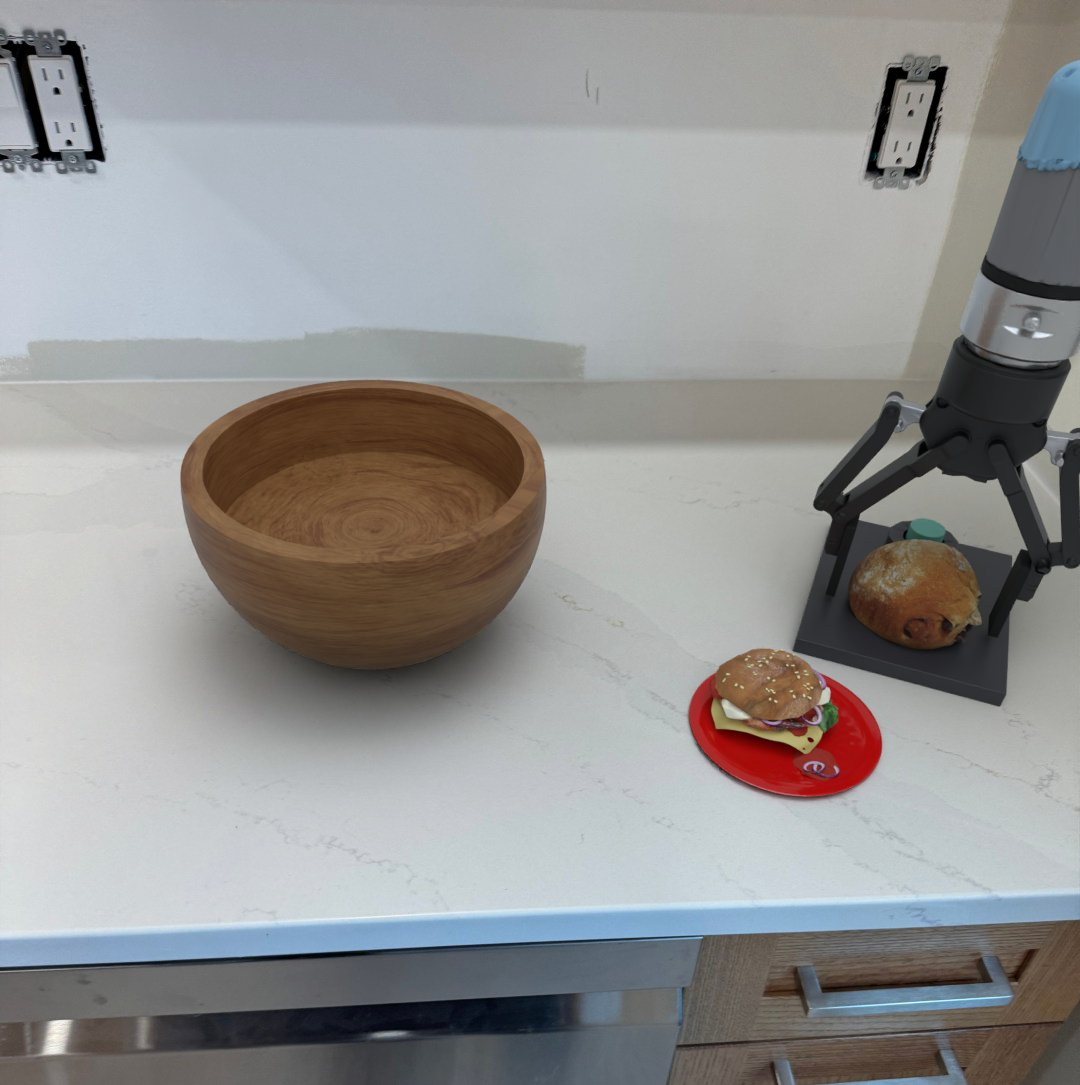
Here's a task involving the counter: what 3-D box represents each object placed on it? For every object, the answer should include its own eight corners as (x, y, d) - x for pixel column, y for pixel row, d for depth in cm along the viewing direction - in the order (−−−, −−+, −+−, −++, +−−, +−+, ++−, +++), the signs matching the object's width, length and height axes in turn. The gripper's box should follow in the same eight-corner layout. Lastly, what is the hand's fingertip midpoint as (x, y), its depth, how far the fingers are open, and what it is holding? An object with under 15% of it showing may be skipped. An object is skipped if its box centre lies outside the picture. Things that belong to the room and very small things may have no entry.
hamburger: (667, 765, 67) (680, 703, 63) (711, 647, 76) (725, 586, 72) (869, 824, 64) (896, 763, 60) (889, 693, 73) (914, 633, 69)
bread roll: (924, 615, 84) (928, 524, 82) (1011, 642, 75) (1019, 540, 72) (826, 634, 82) (827, 541, 79) (904, 664, 73) (908, 559, 70)
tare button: (941, 537, 85) (947, 522, 84) (938, 555, 83) (944, 540, 82) (906, 529, 85) (912, 514, 84) (903, 547, 83) (909, 532, 82)
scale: (1006, 568, 86) (1019, 540, 84) (999, 707, 73) (1015, 678, 71) (829, 526, 90) (838, 498, 88) (792, 651, 77) (800, 622, 74)
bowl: (476, 779, 65) (477, 602, 55) (153, 694, 70) (96, 515, 59) (574, 576, 83) (588, 412, 72) (310, 518, 87) (287, 356, 76)
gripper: (821, 331, 63) (755, 594, 78) (1224, 408, 58) (1070, 674, 73) (837, 293, 68) (772, 546, 83) (1210, 360, 63) (1068, 618, 78)
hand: (911, 606), depth 78 cm, fingers open, 12 cm apart
